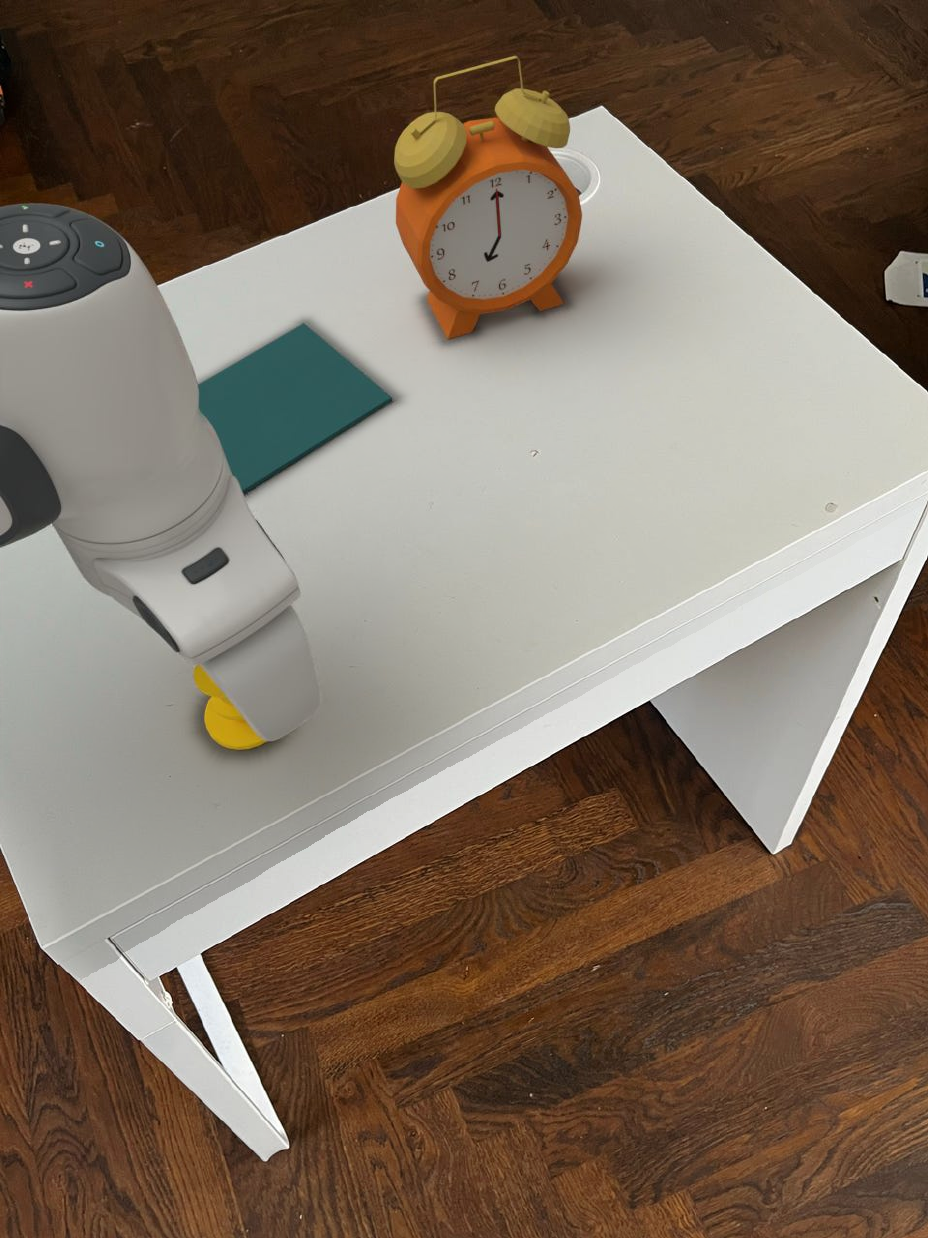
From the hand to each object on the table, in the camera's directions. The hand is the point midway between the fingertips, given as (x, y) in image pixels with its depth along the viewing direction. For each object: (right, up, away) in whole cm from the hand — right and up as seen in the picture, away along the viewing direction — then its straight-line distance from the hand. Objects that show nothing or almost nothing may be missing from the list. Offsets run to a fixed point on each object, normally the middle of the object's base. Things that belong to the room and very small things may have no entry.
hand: (221, 662), depth 68 cm
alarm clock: (+17, +28, +26) cm, 42 cm away
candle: (+1, -4, +5) cm, 6 cm away
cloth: (-2, +18, +20) cm, 27 cm away
